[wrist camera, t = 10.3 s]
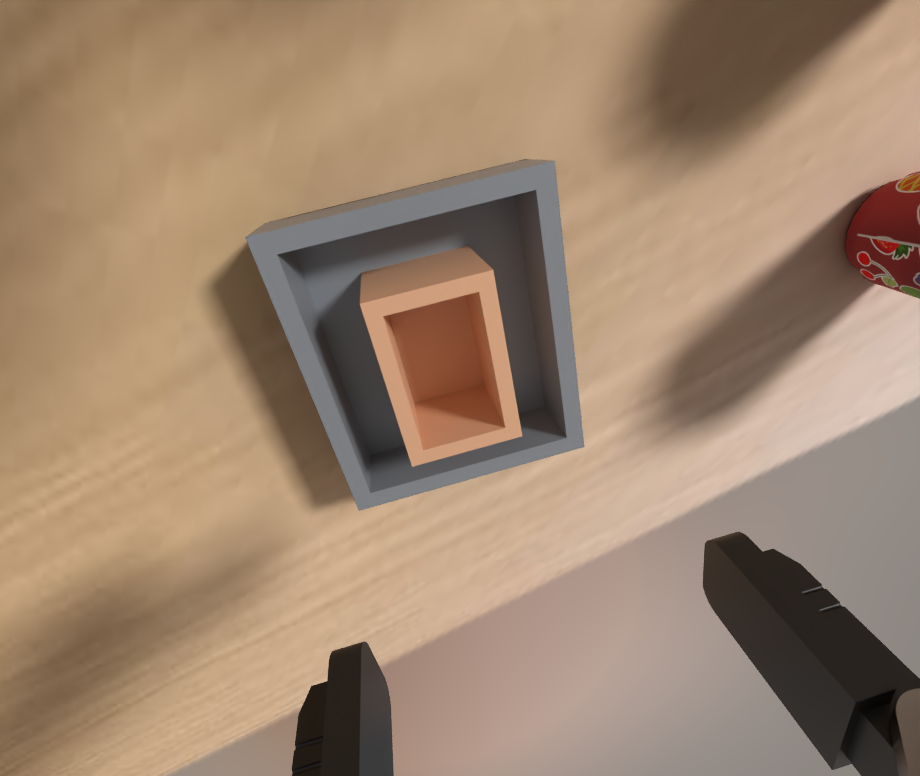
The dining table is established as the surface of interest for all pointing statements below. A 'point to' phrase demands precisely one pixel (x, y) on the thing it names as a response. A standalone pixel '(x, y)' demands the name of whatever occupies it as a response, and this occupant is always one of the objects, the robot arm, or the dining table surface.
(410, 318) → the terracotta crate
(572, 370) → the grey crate
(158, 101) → the dining table surface
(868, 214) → the smoothie
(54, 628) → the dining table surface
